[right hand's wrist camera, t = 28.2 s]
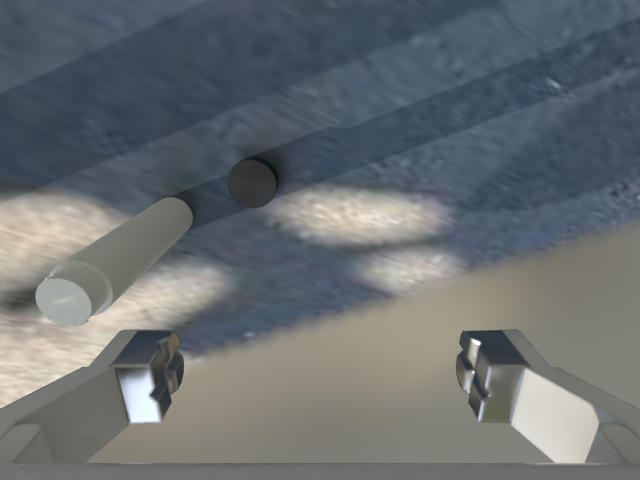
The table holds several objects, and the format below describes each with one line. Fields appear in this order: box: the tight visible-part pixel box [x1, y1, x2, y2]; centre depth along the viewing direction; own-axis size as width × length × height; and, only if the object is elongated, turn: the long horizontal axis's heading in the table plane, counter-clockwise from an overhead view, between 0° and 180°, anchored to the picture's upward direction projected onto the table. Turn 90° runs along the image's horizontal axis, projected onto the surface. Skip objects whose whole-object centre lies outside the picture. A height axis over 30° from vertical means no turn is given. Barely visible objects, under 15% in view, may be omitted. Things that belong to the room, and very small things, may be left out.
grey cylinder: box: [36, 197, 193, 326], centre depth 31 cm, size 4×4×18 cm
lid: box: [228, 157, 278, 208], centre depth 37 cm, size 5×5×2 cm
